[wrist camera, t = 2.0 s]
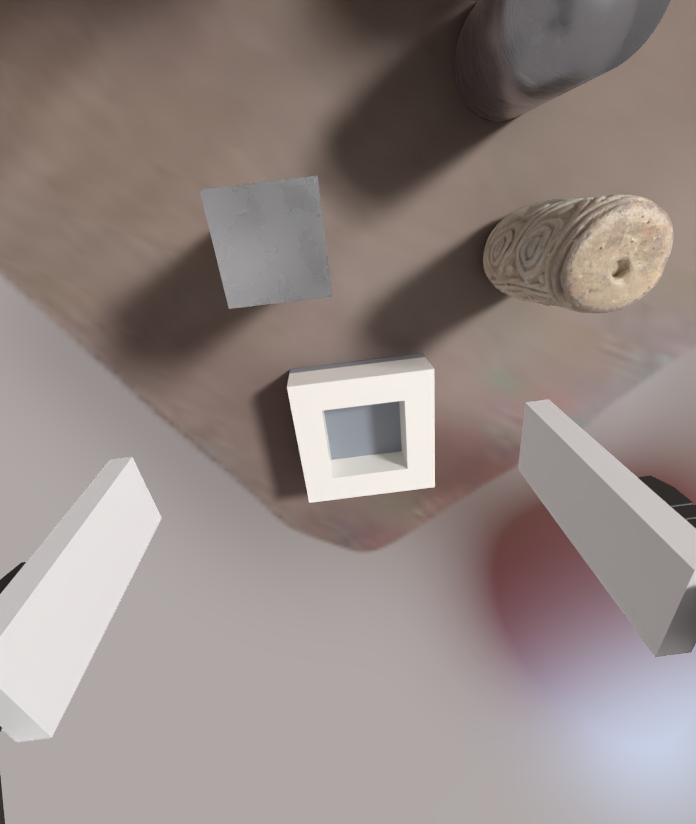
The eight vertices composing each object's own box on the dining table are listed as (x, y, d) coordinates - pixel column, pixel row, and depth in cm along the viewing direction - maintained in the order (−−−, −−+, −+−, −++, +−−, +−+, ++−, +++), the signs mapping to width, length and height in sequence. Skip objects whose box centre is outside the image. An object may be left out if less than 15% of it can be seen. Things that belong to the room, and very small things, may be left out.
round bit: (455, -9, 24) (532, -137, 16) (565, -22, 24) (705, -157, 16) (453, 127, 28) (516, 85, 19) (551, 115, 28) (660, 68, 19)
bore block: (290, 369, 35) (286, 387, 31) (422, 353, 35) (434, 368, 32) (310, 477, 40) (309, 502, 37) (424, 463, 41) (434, 487, 37)
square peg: (251, 200, 29) (199, 189, 16) (318, 192, 29) (317, 175, 16) (265, 270, 31) (228, 308, 19) (327, 263, 31) (332, 296, 19)
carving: (577, 247, 32) (706, 264, 21) (497, 307, 34) (579, 351, 23) (543, 177, 29) (669, 156, 19) (459, 246, 31) (530, 263, 21)
